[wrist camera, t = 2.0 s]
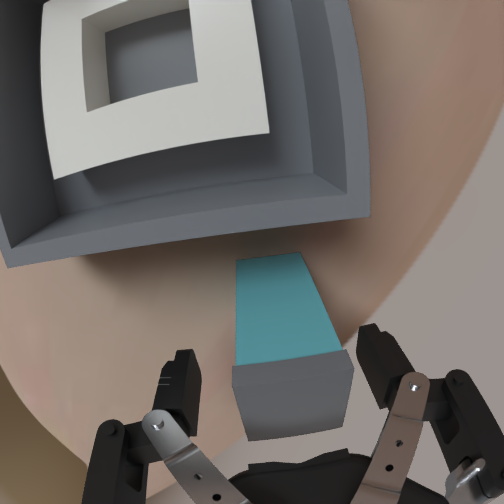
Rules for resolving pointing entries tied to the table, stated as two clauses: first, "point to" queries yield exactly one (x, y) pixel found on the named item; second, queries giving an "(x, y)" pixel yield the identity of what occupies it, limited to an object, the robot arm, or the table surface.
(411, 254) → the table surface
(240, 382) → the peg
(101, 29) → the walled box
